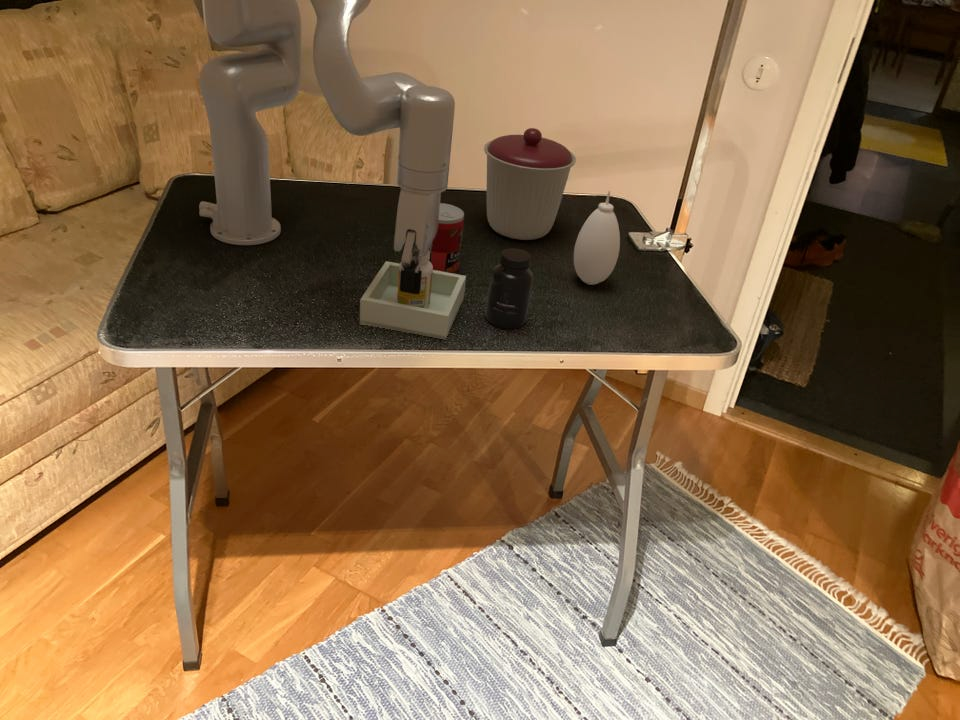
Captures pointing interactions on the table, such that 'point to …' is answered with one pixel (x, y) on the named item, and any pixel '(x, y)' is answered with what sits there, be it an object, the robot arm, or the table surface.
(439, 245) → the canned food
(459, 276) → the bin
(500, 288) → the supplement bottle
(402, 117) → the robot arm
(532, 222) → the canister
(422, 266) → the supplement bottle
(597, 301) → the table surface
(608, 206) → the air blower bulb
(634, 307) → the table surface
